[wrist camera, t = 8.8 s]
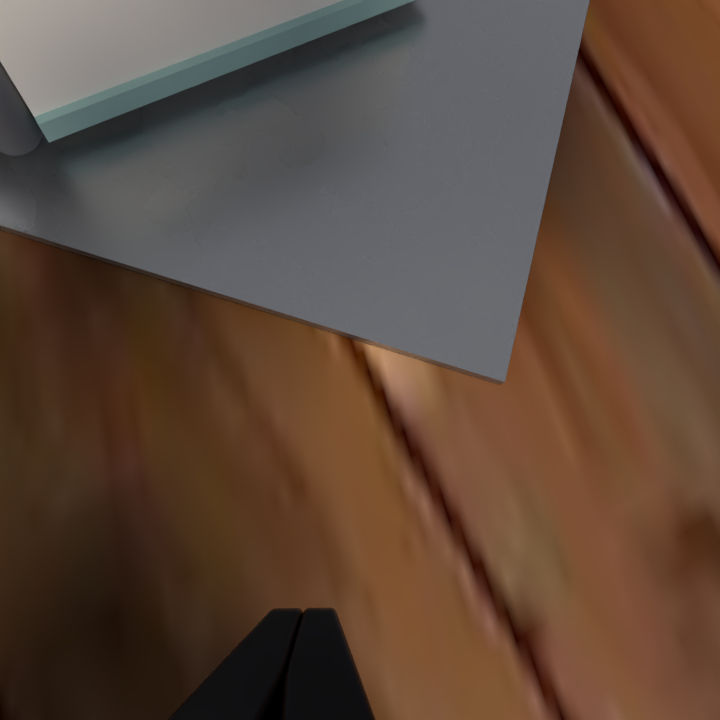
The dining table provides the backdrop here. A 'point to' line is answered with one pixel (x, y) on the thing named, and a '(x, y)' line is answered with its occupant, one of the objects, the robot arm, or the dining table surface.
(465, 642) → the dining table surface
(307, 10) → the gate
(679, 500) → the dining table surface
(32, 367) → the dining table surface
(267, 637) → the robot arm
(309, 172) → the gate post
